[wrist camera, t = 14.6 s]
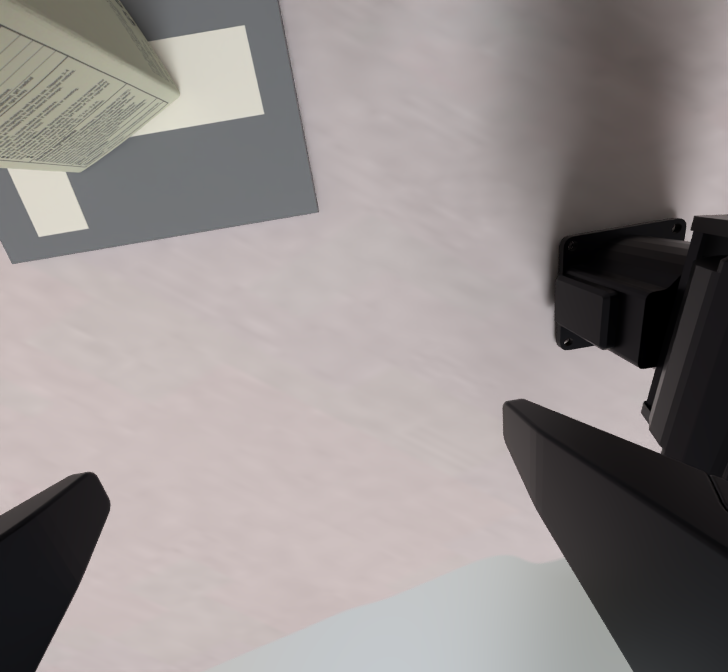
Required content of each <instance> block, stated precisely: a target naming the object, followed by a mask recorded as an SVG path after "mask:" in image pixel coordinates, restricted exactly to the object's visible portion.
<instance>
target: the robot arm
mask: <svg viewBox="0 0 728 672" xmlns="http://www.w3.org/2000/svg"><path fill="white" fill-rule="evenodd" d="M674 225H675V229H674V231H673V232H672V228H673V226H674ZM691 231H693V235H692V239H691V242H688V241H684V239H685V232H686V222H685V220H683V219H678V218H670V219H664V220H658V221H652V222H646V223H640V224H634V225H628V226H623V227H617V228H611V229H605V230H599V231H593V232H587V233H581V234H575V235H569V236H566V237H565V238H563V239H562V241H561V242H560V246H559V271H558V277H557V279H556V288H555V322H557V332H556V343H557V345H558V346H559V347H560V348H562V349H564V350H572V349H578V348H584V347H590V346H597V347H598V348H600V349H602V350H609V351H611V352H613V353H614V354H616V355H618V356H620V357H621V358H623V359H625V360H627V361H628V362H630V363H632V364H633V365H635V366H637V367H639V368H640V369H646V368H654V369H656V370H655V373H654V377H653V380H652V384H651V388H650V391H649V395H648V399H647V401H644V403H643V406H642V410H641V414H642V415H643V416H644V418H645V419H646V421H647V422H648V424H649V430H650V432H651V433H652V435H653V436H654V438H655V439H656V441H657V442H658V444H659V445H660V446H661V447H662V451H661V454H660V453H657V452H655V451H652V450H650V449H647V448H645V447H642V446H640V445H637V444H635V443H632V442H630V441H627V440H625V439H622V438H620V437H617V436H615V435H612V434H610V433H607V432H605V431H602V430H600V429H597V428H595V427H592V426H590V425H587V424H585V423H582V422H580V421H578V420H575V419H573V418H570V417H568V416H565V415H563V414H560V413H558V412H555V411H553V410H550V409H548V408H545V407H543V406H540V405H538V404H535V403H533V402H530V401H528V400H525V399H516V400H511V401H506V402H505V403H504V404H503V435H504V440H505V443H506V446H507V448H508V450H509V452H510V454H511V456H512V459H513V461H514V463H515V465H516V467H517V469H518V472H519V474H520V476H521V478H522V480H523V482H524V485H525V487H526V489H527V491H528V493H529V495H530V498H531V500H532V502H533V504H534V506H535V508H536V510H537V511H538V513H539V515H540V517H541V518H542V520H543V522H544V523H545V525H546V527H547V528H548V530H549V532H550V533H551V535H552V537H553V538H554V540H555V542H556V543H557V545H558V547H559V548H560V550H561V552H562V553H563V555H564V557H565V558H566V560H567V562H568V563H569V565H570V567H571V568H572V570H573V572H574V573H575V575H576V577H577V578H578V580H579V582H580V583H581V585H582V587H583V588H584V590H585V592H586V593H587V595H588V597H589V598H590V600H591V602H592V604H593V605H594V607H595V608H596V610H597V612H598V614H599V615H600V617H601V619H602V620H603V622H604V623H605V625H606V627H607V629H608V630H609V632H610V633H611V635H612V637H613V638H614V640H615V642H616V643H617V645H618V647H619V648H620V650H621V652H622V653H623V655H624V657H625V659H626V660H627V662H628V663H629V665H630V667H631V669H632V670H633V672H728V215H702V216H694V219H693V222H692V226H691ZM570 242H573V247H572V248H571V249H568V245H569V243H570ZM568 338H569V341H568V342H567V343H565V344H564V342H565V340H566V339H568ZM109 512H110V500H109V497H108V495H107V494H106V492H105V490H104V488H103V486H102V484H101V482H100V480H99V478H98V477H97V475H96V474H94V473H93V472H85V473H79V474H73V475H70V476H68V477H66V478H65V479H63V480H61V481H59V482H58V483H56V484H54V485H52V486H51V487H49V488H47V489H46V490H44V491H42V492H40V493H39V494H37V495H35V496H33V497H32V498H30V499H28V500H26V501H25V502H23V503H21V504H19V505H18V506H16V507H14V508H13V509H11V510H9V511H7V512H6V513H4V514H2V515H0V672H36V670H37V668H38V666H39V664H40V662H41V660H42V658H43V656H44V654H45V652H46V650H47V648H48V646H49V644H50V642H51V640H52V638H53V636H54V634H55V632H56V630H57V628H58V626H59V624H60V623H61V621H62V619H63V617H64V615H65V613H66V611H67V609H68V607H69V605H70V603H71V601H72V599H73V597H74V595H75V593H76V591H77V589H78V587H79V584H80V582H81V580H82V578H83V575H84V573H85V571H86V568H87V566H88V563H89V561H90V558H91V556H92V553H93V551H94V549H95V546H96V544H97V541H98V539H99V536H100V534H101V531H102V529H103V527H104V524H105V522H106V519H107V517H108V514H109Z"/></svg>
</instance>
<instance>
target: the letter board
mask: <svg viewBox="0 0 728 672" xmlns="http://www.w3.org/2000/svg"><path fill="white" fill-rule="evenodd" d="M120 2H121V3H122V5H123V6H124V7H125V9H126V10H127V12H128V13H129V14H130V16H131V17H132V19H133V20H134V22H135V23H136V25H137V26H138V28H139V29H140V30H141V32H142V33H143V35H144V36H145V38H146V39H147V41H148V43H149V44H150V46H151V47H152V49H153V50H154V52H155V53H156V55H157V57H158V58H159V60H160V61H161V63H162V64H163V66H164V67H165V69H166V71H167V72H168V74H169V75H170V77H171V78H172V80H173V82H174V83H175V85H176V86H177V88H178V90H179V92H180V96H179V98H178V99H176V100H175V101H174V102H172V103H171V104H170V105H169V106H168V107H167V108H165V109H164V110H163V111H162V112H161V113H159V114H158V115H157V116H156V117H155V118H153V119H152V120H151V121H149V122H148V123H147V124H146V125H145V126H143V127H142V128H141V129H140V130H138V131H137V132H136V133H134V134H133V135H132V136H130V137H129V138H128V139H127V140H125V141H124V142H123V143H121V144H120V145H119V146H117V147H116V148H115V149H113V150H112V151H111V152H109V153H108V154H106V155H105V156H104V157H102V158H101V159H99V160H98V161H97V162H95V163H94V164H92V165H91V166H89V167H88V168H86V169H85V170H84V171H82V172H79V173H76V172H62V171H43V170H27V169H10V168H0V241H1V243H2V245H3V247H4V249H5V251H6V253H7V255H8V257H9V259H10V261H11V263H12V264H16V263H22V262H28V261H34V260H40V259H46V258H51V257H57V256H63V255H69V254H75V253H81V252H87V251H93V250H99V249H105V248H110V247H116V246H122V245H128V244H134V243H140V242H146V241H152V240H158V239H164V238H170V237H175V236H181V235H187V234H193V233H199V232H205V231H211V230H217V229H223V228H229V227H234V226H240V225H246V224H252V223H258V222H264V221H270V220H276V219H282V218H288V217H293V216H299V215H305V214H311V213H317V212H319V209H318V204H317V199H316V194H315V188H314V183H313V178H312V173H311V168H310V162H309V157H308V152H307V147H306V142H305V136H304V131H303V126H302V121H301V115H300V110H299V105H298V100H297V95H296V89H295V84H294V79H293V74H292V69H291V63H290V58H289V53H288V48H287V42H286V37H285V32H284V27H283V22H282V16H281V11H280V6H279V1H278V0H120Z"/></svg>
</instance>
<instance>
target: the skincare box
mask: <svg viewBox="0 0 728 672" xmlns="http://www.w3.org/2000/svg"><path fill="white" fill-rule="evenodd" d="M179 96H180V92H179V90H178V88H177V86H176V85H175V83H174V82H173V80H172V78H171V77H170V75H169V74H168V72H167V71H166V69H165V67H164V66H163V64H162V63H161V61H160V60H159V58H158V57H157V55H156V53H155V52H154V50H153V49H152V47H151V46H150V44H149V43H148V41H147V39H146V38H145V36H144V35H143V33H142V32H141V30H140V29H139V28H138V26H137V25H136V23H135V22H134V20H133V19H132V17H131V16H130V14H129V13H128V12H127V10H126V9H125V7H124V6H123V5H122V3H121V2H120V0H0V168H10V169H27V170H43V171H62V172H76V173H79V172H82V171H84V170H85V169H86V168H88V167H89V166H91V165H92V164H94V163H95V162H97V161H98V160H99V159H101V158H102V157H104V156H105V155H106V154H108V153H109V152H111V151H112V150H113V149H115V148H116V147H117V146H119V145H120V144H121V143H123V142H124V141H125V140H127V139H128V138H129V137H130V136H132V135H133V134H134V133H136V132H137V131H138V130H140V129H141V128H142V127H143V126H145V125H146V124H147V123H148V122H149V121H151V120H152V119H153V118H155V117H156V116H157V115H158V114H159V113H161V112H162V111H163V110H164V109H165V108H167V107H168V106H169V105H170V104H171V103H172V102H174V101H175V100H176V99H178V98H179Z"/></svg>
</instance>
